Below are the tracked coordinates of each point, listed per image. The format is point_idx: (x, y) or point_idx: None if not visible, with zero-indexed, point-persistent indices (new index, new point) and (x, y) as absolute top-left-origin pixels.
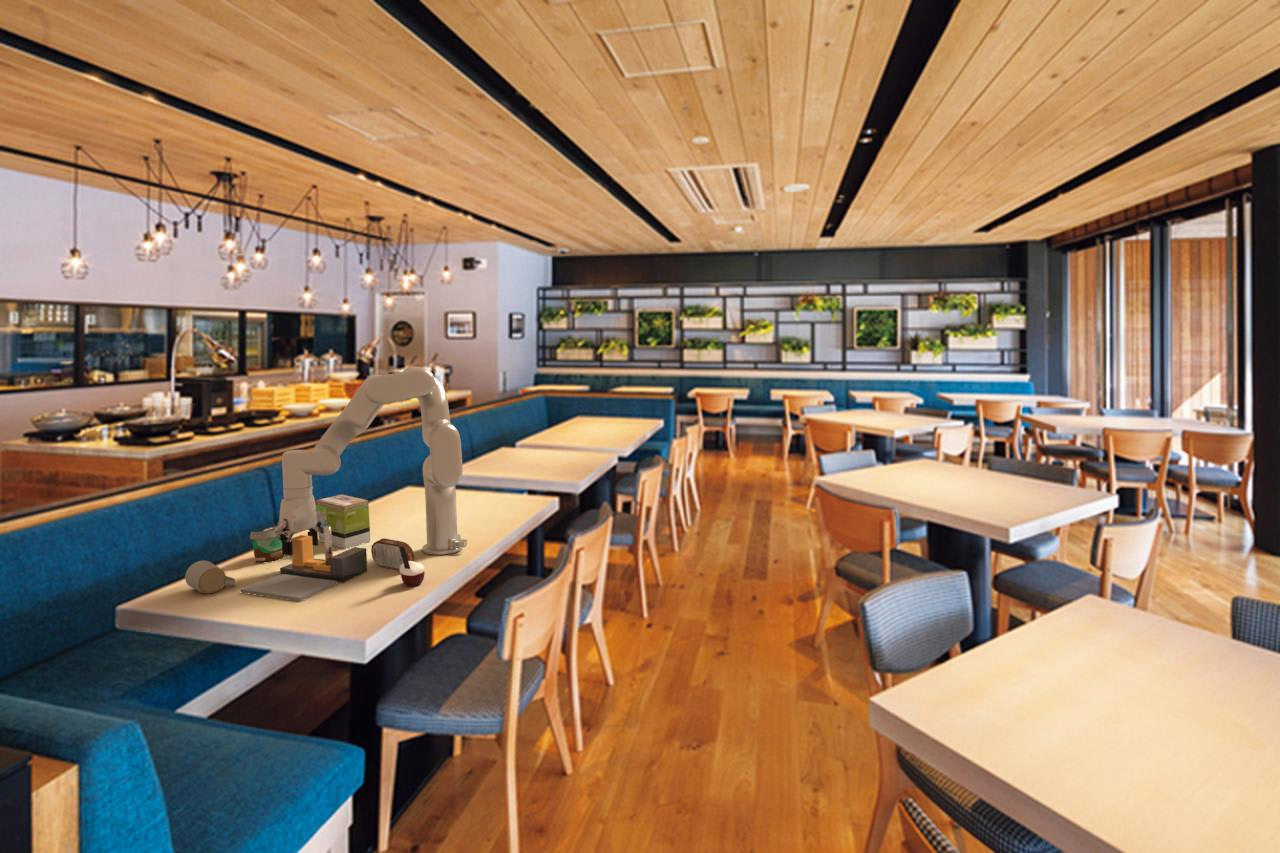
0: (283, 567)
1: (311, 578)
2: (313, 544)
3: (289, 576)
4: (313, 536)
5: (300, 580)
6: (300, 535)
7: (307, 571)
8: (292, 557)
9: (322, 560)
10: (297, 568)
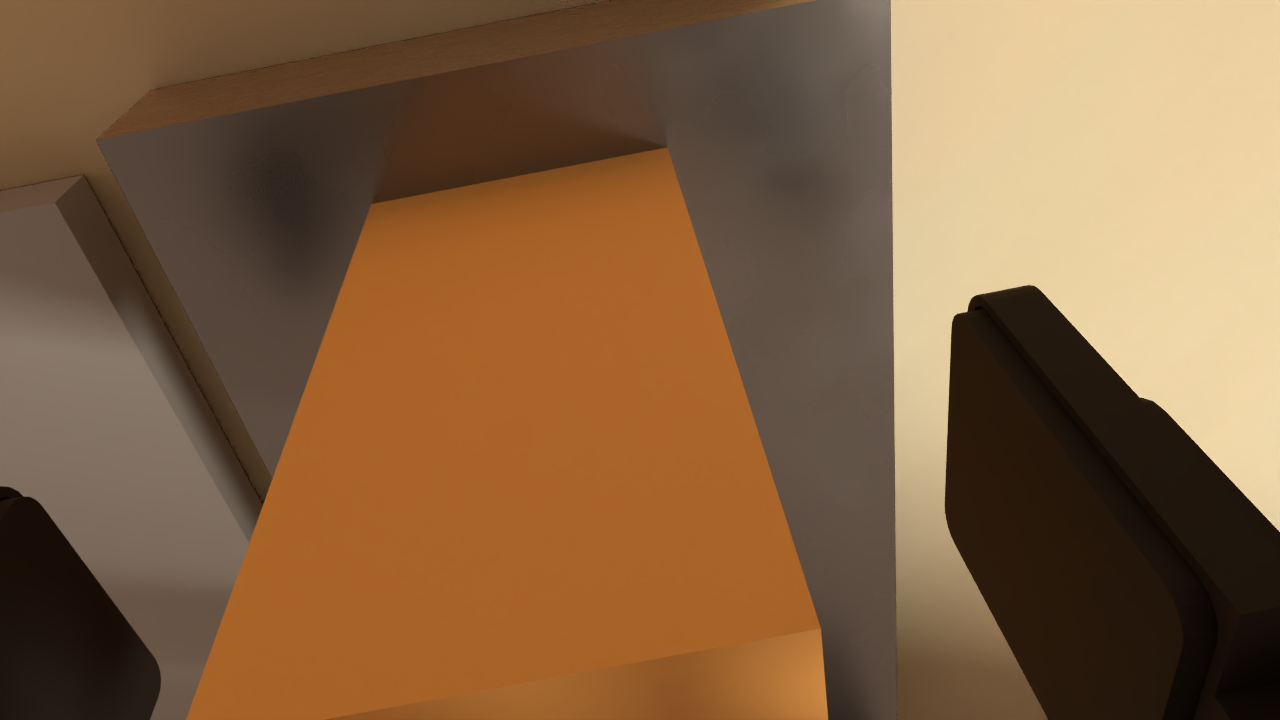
0: (172, 165)
1: None
2: (956, 478)
3: (140, 474)
4: (1075, 686)
5: (187, 686)
6: (760, 651)
7: None
8: (348, 308)
9: (846, 420)
10: None
